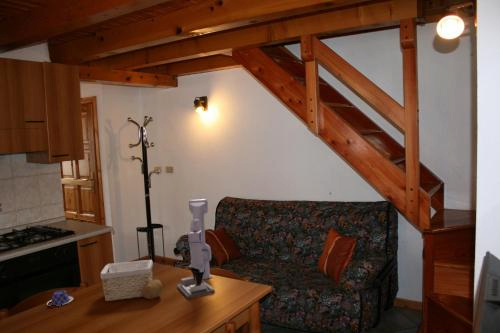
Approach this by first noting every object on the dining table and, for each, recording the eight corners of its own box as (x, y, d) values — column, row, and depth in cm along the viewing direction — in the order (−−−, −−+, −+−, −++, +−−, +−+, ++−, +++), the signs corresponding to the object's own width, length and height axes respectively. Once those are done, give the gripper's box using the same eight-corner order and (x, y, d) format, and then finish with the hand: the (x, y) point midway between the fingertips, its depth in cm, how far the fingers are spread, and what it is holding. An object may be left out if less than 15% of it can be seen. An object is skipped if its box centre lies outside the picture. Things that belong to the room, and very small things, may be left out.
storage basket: (101, 303, 193) (99, 273, 192) (108, 290, 209) (106, 263, 208) (152, 297, 196) (149, 268, 195) (155, 286, 212) (153, 258, 211)
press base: (177, 287, 208) (176, 279, 208) (202, 282, 214) (202, 273, 214) (187, 299, 192) (186, 289, 192) (214, 292, 198) (214, 283, 198)
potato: (166, 291, 203) (165, 276, 202) (158, 303, 189) (157, 286, 188) (148, 291, 204) (147, 276, 203) (138, 303, 190) (137, 286, 189)
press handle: (190, 290, 198) (189, 275, 197) (205, 286, 201) (204, 272, 201) (191, 292, 195) (190, 277, 194) (207, 288, 198) (206, 274, 198)
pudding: (62, 308, 190) (62, 297, 190) (41, 307, 193) (40, 296, 192) (78, 298, 202) (77, 287, 202) (58, 297, 204) (57, 287, 204)
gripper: (184, 253, 202) (186, 279, 203) (193, 260, 189) (195, 288, 190) (197, 251, 205) (199, 277, 206) (207, 258, 192) (209, 285, 193)
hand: (198, 282), depth 198 cm, fingers closed on press handle, 3 cm apart
